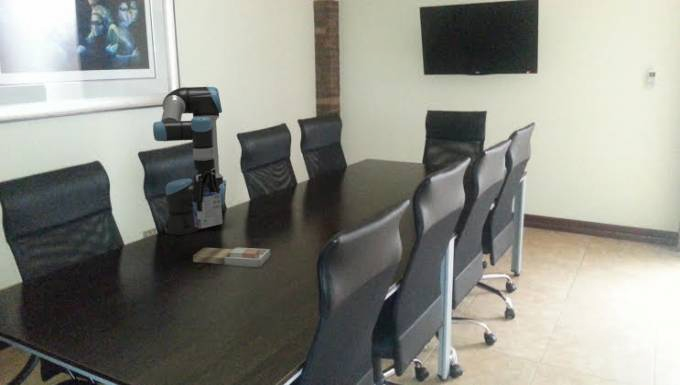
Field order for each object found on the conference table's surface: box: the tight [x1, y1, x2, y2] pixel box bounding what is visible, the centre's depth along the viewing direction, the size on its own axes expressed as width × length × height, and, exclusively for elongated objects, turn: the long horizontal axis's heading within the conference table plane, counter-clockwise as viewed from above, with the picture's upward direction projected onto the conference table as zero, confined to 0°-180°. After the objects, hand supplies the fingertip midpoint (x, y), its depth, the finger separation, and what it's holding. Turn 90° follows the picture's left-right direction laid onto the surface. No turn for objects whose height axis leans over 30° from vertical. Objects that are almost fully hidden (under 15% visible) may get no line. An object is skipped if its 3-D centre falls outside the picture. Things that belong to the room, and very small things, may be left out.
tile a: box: [230, 247, 246, 258], centre depth 216 cm, size 5×5×3 cm
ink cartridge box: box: [192, 187, 223, 230], centre depth 214 cm, size 10×6×14 cm, turn 134°
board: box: [192, 247, 234, 265], centre depth 218 cm, size 13×10×2 cm
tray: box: [224, 246, 271, 268], centre depth 215 cm, size 14×12×3 cm
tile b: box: [242, 249, 259, 259], centre depth 215 cm, size 5×5×3 cm
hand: (207, 215), depth 215 cm, fingers closed on ink cartridge box, 11 cm apart
